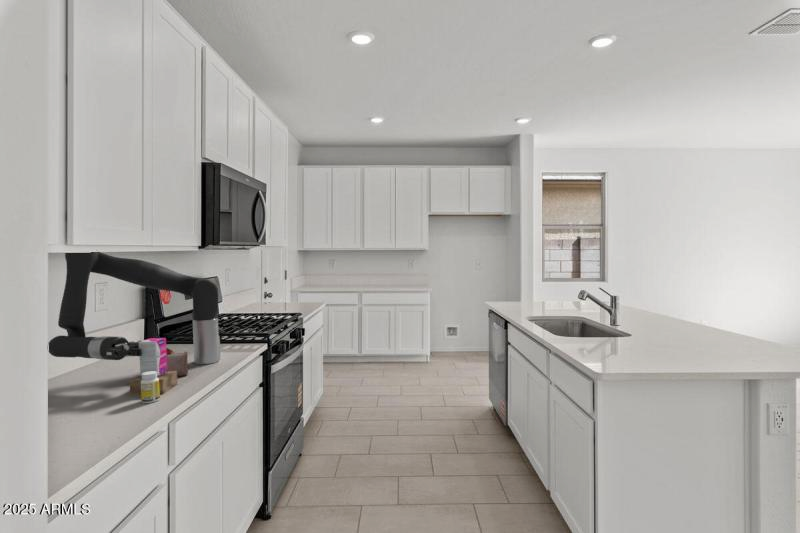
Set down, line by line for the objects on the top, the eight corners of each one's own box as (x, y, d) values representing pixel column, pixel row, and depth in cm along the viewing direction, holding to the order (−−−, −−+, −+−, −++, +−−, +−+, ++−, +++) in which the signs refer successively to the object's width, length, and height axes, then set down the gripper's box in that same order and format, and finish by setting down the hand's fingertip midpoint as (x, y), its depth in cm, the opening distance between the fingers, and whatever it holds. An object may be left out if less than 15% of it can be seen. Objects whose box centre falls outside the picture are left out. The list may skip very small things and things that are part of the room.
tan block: (146, 386, 149) (146, 371, 149) (177, 385, 149) (177, 370, 149) (130, 396, 139) (129, 380, 139) (163, 395, 139) (162, 379, 139)
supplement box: (158, 377, 141) (155, 341, 140) (140, 378, 141) (137, 342, 141) (168, 371, 147) (166, 337, 146) (151, 372, 147) (148, 337, 146)
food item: (143, 381, 154) (142, 353, 154) (148, 375, 161) (146, 348, 161) (187, 377, 158) (186, 349, 158) (189, 371, 166) (188, 344, 166)
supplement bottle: (155, 397, 137) (154, 369, 136) (162, 400, 134) (161, 372, 133) (138, 401, 133) (137, 373, 133) (145, 404, 130) (144, 375, 130)
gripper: (88, 341, 140) (133, 342, 137) (125, 332, 154) (166, 333, 150) (89, 364, 140) (134, 366, 137) (126, 354, 154) (167, 355, 151)
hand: (151, 349), depth 144 cm, fingers open, 8 cm apart
